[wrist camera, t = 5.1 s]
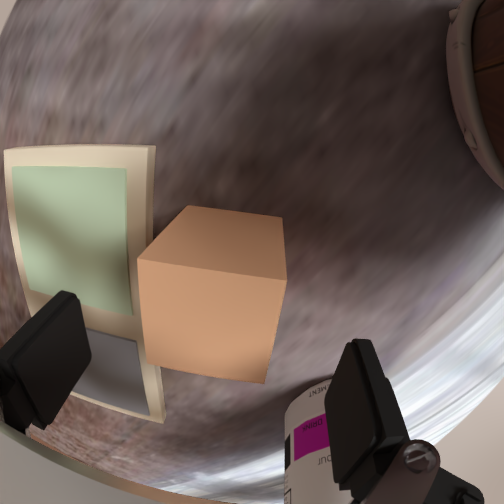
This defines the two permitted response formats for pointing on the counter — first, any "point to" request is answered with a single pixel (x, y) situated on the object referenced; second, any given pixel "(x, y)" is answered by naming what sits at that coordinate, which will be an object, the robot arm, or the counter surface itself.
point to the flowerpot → (479, 79)
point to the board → (90, 256)
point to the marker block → (213, 293)
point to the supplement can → (310, 452)
